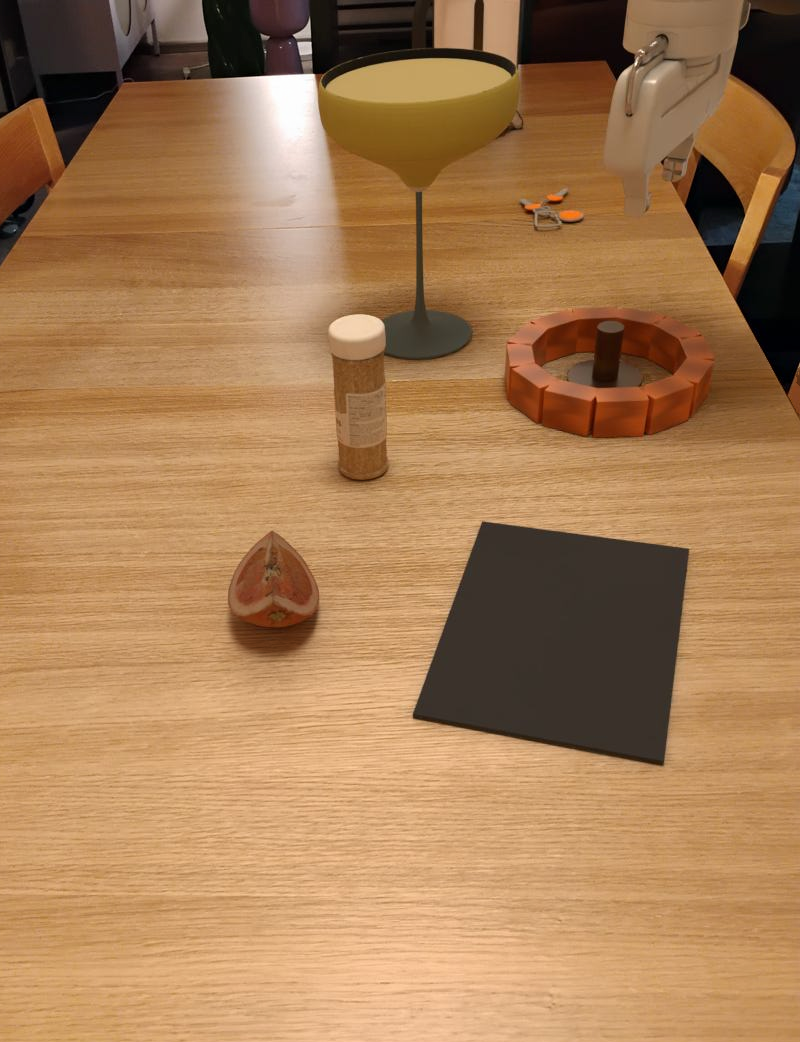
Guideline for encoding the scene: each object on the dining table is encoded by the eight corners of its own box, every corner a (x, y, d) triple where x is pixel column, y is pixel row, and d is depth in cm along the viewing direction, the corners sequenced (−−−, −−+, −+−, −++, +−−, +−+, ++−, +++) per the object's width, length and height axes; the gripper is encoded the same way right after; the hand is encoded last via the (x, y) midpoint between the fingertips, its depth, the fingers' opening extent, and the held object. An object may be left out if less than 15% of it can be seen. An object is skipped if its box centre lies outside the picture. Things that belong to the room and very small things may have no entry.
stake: (609, 361, 101) (617, 303, 97) (657, 390, 97) (667, 330, 93) (551, 380, 99) (556, 322, 95) (596, 411, 95) (604, 351, 91)
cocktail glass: (393, 286, 118) (387, 40, 101) (537, 317, 109) (556, 55, 92) (301, 353, 107) (276, 92, 91) (451, 393, 99) (455, 113, 82)
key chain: (588, 227, 126) (588, 220, 125) (527, 231, 126) (528, 224, 126) (571, 190, 135) (572, 183, 135) (515, 194, 136) (516, 187, 135)
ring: (619, 324, 107) (623, 291, 104) (748, 398, 94) (756, 363, 92) (469, 373, 102) (470, 339, 99) (584, 458, 89) (588, 422, 87)
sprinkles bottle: (338, 455, 92) (327, 313, 83) (388, 452, 92) (383, 310, 83) (338, 484, 89) (327, 339, 80) (390, 481, 89) (386, 336, 80)
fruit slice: (322, 650, 74) (317, 597, 70) (229, 657, 74) (219, 605, 70) (319, 577, 80) (314, 525, 76) (233, 584, 80) (224, 532, 77)
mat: (482, 525, 83) (482, 520, 83) (688, 552, 79) (689, 548, 78) (412, 717, 68) (412, 713, 68) (663, 765, 64) (664, 761, 63)
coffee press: (420, 117, 163) (418, -114, 143) (523, 113, 161) (535, -123, 141) (412, 154, 151) (409, -94, 131) (523, 150, 148) (537, -103, 128)
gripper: (675, 58, 76) (647, 244, 85) (758, -4, 88) (725, 165, 97) (593, 51, 79) (575, 232, 88) (685, -8, 91) (660, 156, 100)
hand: (654, 196), depth 93 cm, fingers open, 8 cm apart
